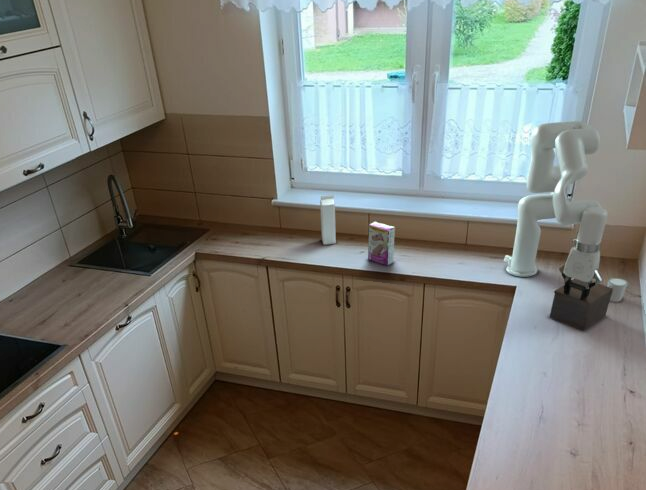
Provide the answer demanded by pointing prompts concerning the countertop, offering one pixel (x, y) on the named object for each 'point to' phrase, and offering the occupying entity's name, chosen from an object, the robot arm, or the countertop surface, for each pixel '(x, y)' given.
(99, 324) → the countertop surface
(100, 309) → the countertop surface
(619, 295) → the shot glass
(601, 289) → the lid
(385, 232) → the candy bar box
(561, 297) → the chest
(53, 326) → the countertop surface
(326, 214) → the milk
